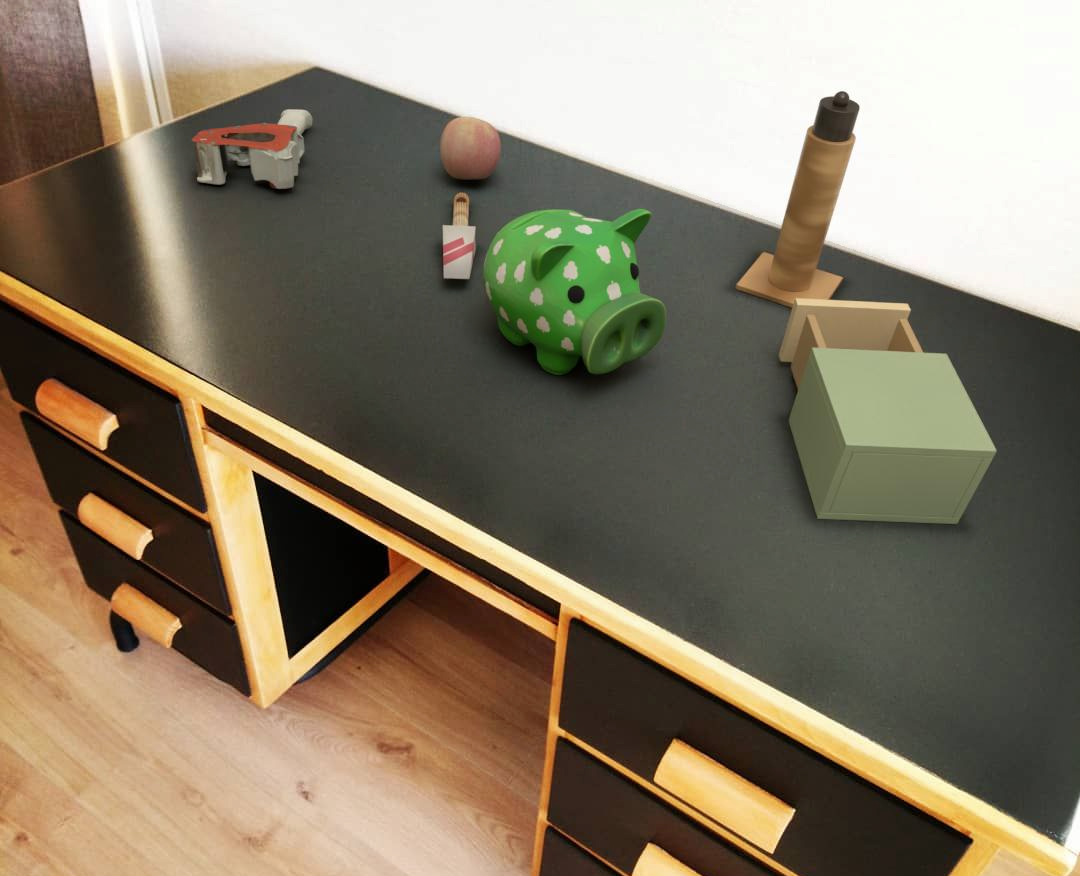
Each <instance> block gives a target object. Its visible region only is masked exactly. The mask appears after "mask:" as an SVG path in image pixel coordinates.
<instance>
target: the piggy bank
mask: <svg viewBox="0 0 1080 876" xmlns="http://www.w3.org/2000/svg"><path fill="white" fill-rule="evenodd" d="M651 218H652V212H651V211H650V210H647V209H644V208H637V209H633V210H630V211H628V212H626V213H625V214H623V215H621V216H619V217H618V218H616V219H614V220H613V221H609V220H604V219H600V218H591V217H587V216H585V215H583V214H582V213H579V212H577V211H575V210H572V209H543V210H535V211H532V212H527V213H525V214H523V215H520V216H518V217H516V218H514V219H513V220H511V221H509V222H508V223H507V224H505V225H504V226H503V227H502V228H501V229H500V230H498V232H497V233H496V234H495V235H494V237H493V238H492V241H491V242H490V244H489V247H488V250H487V253H486V255H485V258H484V263H483V272H482V273H483V274H482V278H483V286H484V290H485V293H486V296H487V300H488V301H489V305H490V306H491V309H493V312H495V314H496V320H497V325H498V328H499V331H500V332H501V333H502V335H503V337H504V338H505V339H506V340H508V341H509V342H510V343H512V344H513V345H515V346H518V347H522V346H526V345H529V344H532V345H533V346H534V347H535V349H536V360H537V362H538V364H539V365H540V367H541V369H543V370H544V371H546V372H548V373H549V374H551V375H555V376H562V375H565V374H567V373H569V372H571V371H572V369H574V368H575V367H576V366H577V364H578V361H579V360H580V358H582V361H583V364H584V366H585V368H586V369H587V371H588V372H589V373H590V374H592V375H603V374H607V373H610V372H613V371H614V370H616V369H618V368H620V367H621V366H622V365H623V364H624V363H629V362H630V363H631V362H634V361H636V360H638V359H640V358H642V357H644V356H645V355H646V354H648V353H649V352H650V351H652V349H653V348H655V346H656V345H657V344H658V343H659V342H660V340H661V338H662V336H663V334H664V332H665V327H666V322H667V311H666V306H665V304H664V303H663V302H662V301H661V300H659V299H658V298H655V297H652V296H650V295H647V294H646V293H645V294H644V293H641V289H640V279H639V276H640V269H639V268H640V267H638V261H637V256H636V249H635V244H636V242H637V241H638V239H639V237H640V235H641V234H642V233H643V231H644V229H645V228H646V227H647V225H648V224H649V222H650V221H651Z"/></svg>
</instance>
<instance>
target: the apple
mask: <svg viewBox="0 0 1080 876" xmlns="http://www.w3.org/2000/svg"><path fill="white" fill-rule="evenodd" d="M501 145H502V144H501V139H500V135H499V133H498V131H497V129H496V128H495V127H494V125H492V124H491V123H490V122H488V121H485V120H483V119H480V118H476V117H473V116H460V117H456V118H455V117H454V118H453V119H452V120H450V121H449V122H448V123H447V124H446V126H445V127H444V130H443V132H442V134H441V137H440V144H439V153H440V154H439V155H440V158H441V162H442V165H443V167H444V169H445V171H446V172H447V174H449V175H450V176H451V177H452V178H454V179H456V180H462V181H463V180H465V181H472V180H485V179H487V178H489V177H490V176H491V175H492V174H493V173H494V171H495V169H496V168H497V166H498V163H499V160H500V157H501V151H502V149H501V148H502V146H501Z"/></svg>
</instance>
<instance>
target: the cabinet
mask: <svg viewBox="0 0 1080 876" xmlns="http://www.w3.org/2000/svg"><path fill="white" fill-rule="evenodd" d="M794 399H795V400H794V403H793V405H792V408H791V412H790V415H789V418H788V424H789V427H790V430H791V433H792V437H793V441H794V445H795V447H796V450H797V454H798V458H799V461H800V464H801V468H802V471H803V474H804V475H803V476H804V478H805V482H806V484H807V488H808V491H809V495H810V498H811V502H812V505H813V508H814V512H815V516H816V518H817V519H818V520H836V521H838V520H840V521H864V522H865V521H866V522H890V523H914V524H915V523H916V524H917V523H918V524H939V525H940V524H941V525H942V524H943V525H958V523H959V522H960V520H961V518H962V516H963V514H964V513H965V511H966V509H967V507H968V505H969V504H970V502H971V499H973V496H974V494H975V493H976V490H977V488H978V487H979V485H980V483H981V481H982V479H983V478H984V476H985V474H986V472H987V470H988V468H989V466H990V465H991V462H993V459H994V457H995V456H996V454H997V452H998V451H997V448H996V447H995V444H994V442H993V440H992V438H991V437H990V434H989V433H988V431H987V429H986V427H985V425H984V423H983V421H982V420H981V417H980V416H979V414H978V412H977V410H976V408H975V405H974V404H973V402H972V399H971V398H970V395H969V394H968V393H967V390H966V389H965V387H964V385H963V383H962V381H961V379H960V377H959V374H958V373H957V371H956V369H955V367H954V365H953V364H952V361H951V359H950V358H949V356H948V354H947V353H941V352H940V353H938V352H937V353H936V352H923V353H919V352H898V351H876V350H855V349H834V348H812V349H811V352H810V355H809V358H808V361H807V365H806V368H805V371H804V374H803V377H802V380H801V383H800V386H799V389H798V388H797V393H796V395H795V398H794Z"/></svg>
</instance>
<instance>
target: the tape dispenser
mask: <svg viewBox="0 0 1080 876" xmlns="http://www.w3.org/2000/svg"><path fill="white" fill-rule="evenodd" d="M313 120H314V119H313V116H312V115H311V113H310V112H309V111H308V110H305V109H290V108H289V109H284V110H283V111H282V112H281V114H280V119H279V120H278V122H277V123H268V122H262V123H252V124H245V125H236V126H234V125H233V126H229V127H218V128H209V129H203V130H201V131H198V132H197V134H196V135H195V136H193V138H191V140H190V141H191V142H193V143H194V145H193V152H194V158H195V159H194V160H195V162H196V173H197V177H196V180H197V182H199V183H203V184H211V185H224V184H225V183H226V176H227V174H228V168H229V166H228V161H236V164H237V166H241V167H246V166H250V171H251V175H252V178H253V180H254V181H255V182H257V181H268V183H269V186H270V187H271V188H272V189H275V190H281V189H283V190H285V189H290V188H294V186H295V177H297V176H298V175H299V164H300V163H301V158H302V156H303V155H304V153H305V140H304V139H305V138H304V137H303V133H304V132H305V130H308V129H310V128H311V127H312V126H313Z"/></svg>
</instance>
